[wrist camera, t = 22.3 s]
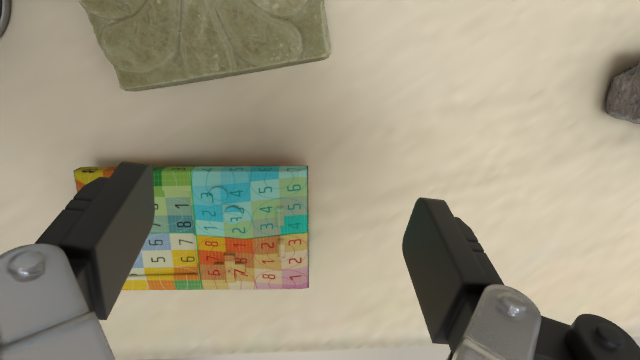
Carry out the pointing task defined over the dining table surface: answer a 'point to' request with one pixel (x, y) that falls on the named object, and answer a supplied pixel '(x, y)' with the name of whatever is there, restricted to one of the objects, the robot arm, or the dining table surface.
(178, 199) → the puzzle game
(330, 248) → the dining table surface
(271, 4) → the decorative tile
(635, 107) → the decorative stone
